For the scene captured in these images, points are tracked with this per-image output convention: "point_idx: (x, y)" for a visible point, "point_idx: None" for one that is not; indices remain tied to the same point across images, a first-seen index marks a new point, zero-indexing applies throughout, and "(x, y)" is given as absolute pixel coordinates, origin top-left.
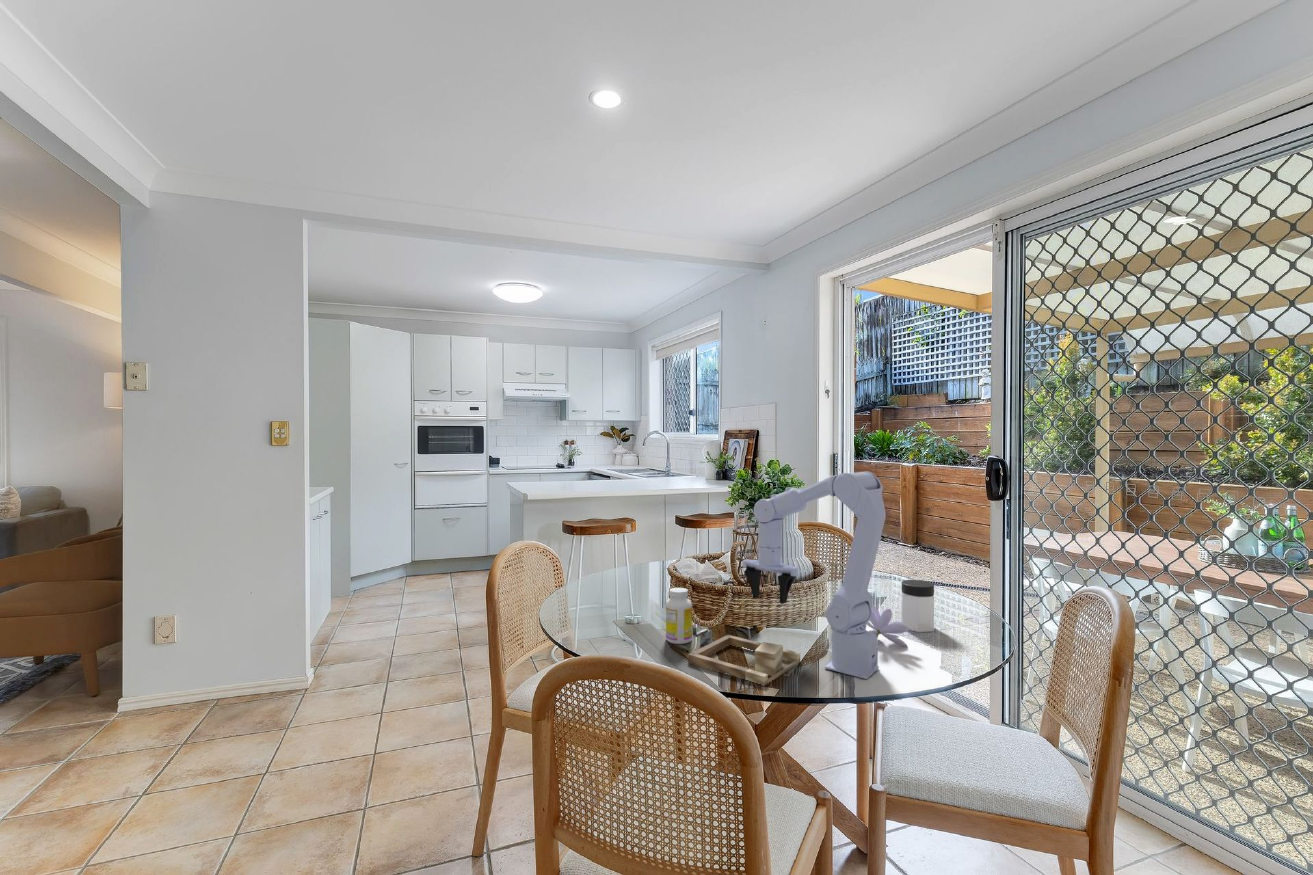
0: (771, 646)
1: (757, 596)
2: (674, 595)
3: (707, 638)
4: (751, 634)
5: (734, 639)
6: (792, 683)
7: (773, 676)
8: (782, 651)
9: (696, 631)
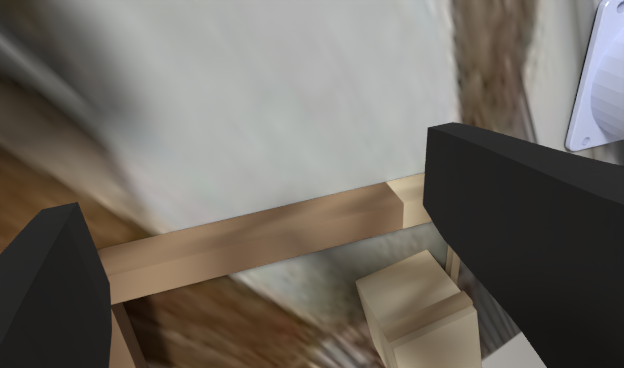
0: (444, 350)
1: (89, 242)
2: None
3: None
4: (24, 42)
5: (141, 292)
6: (497, 305)
7: None
8: (460, 291)
9: None
